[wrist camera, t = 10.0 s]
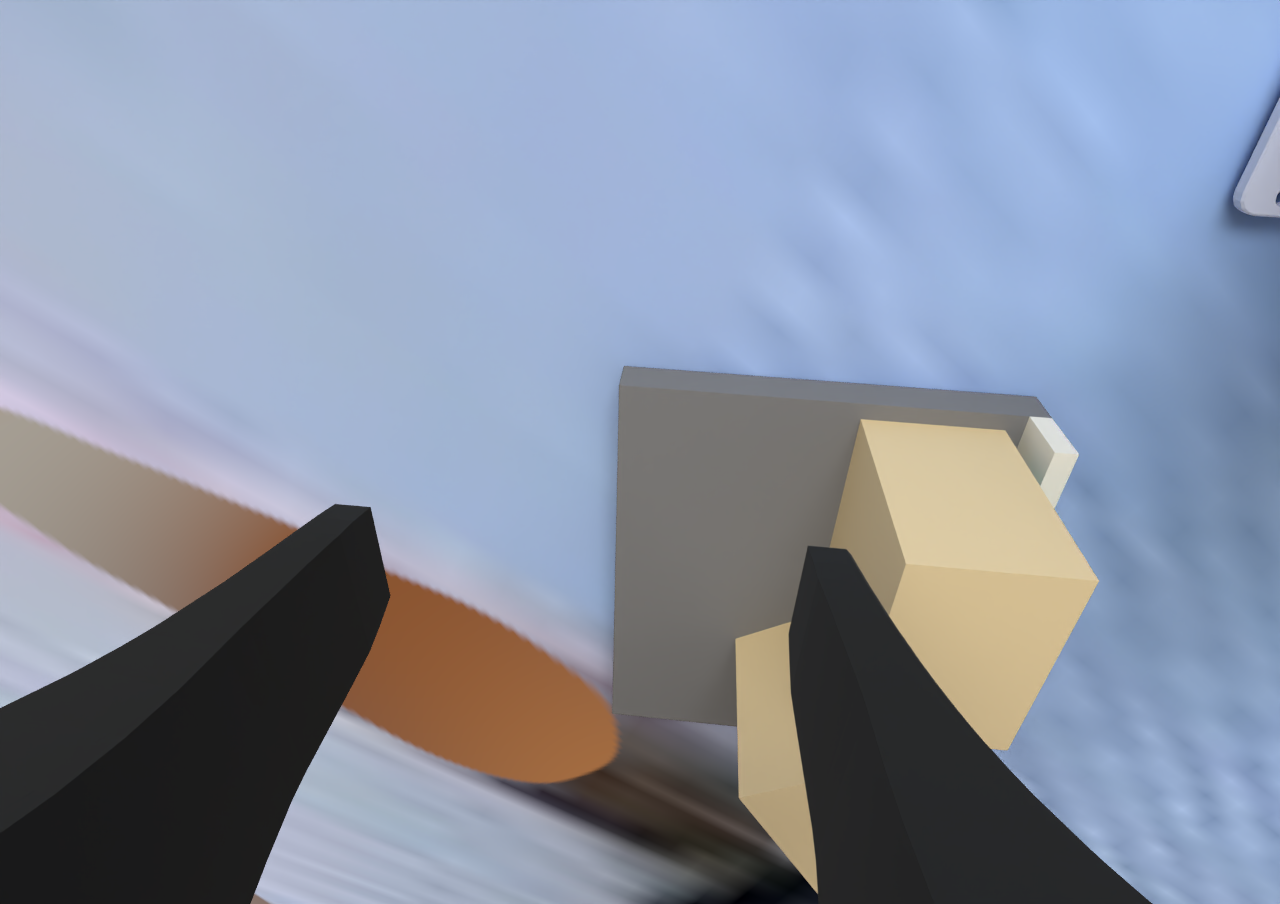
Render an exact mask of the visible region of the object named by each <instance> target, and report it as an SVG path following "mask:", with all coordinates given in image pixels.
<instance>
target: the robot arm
mask: <svg viewBox="0 0 1280 904" xmlns="http://www.w3.org/2000/svg"><path fill="white" fill-rule="evenodd" d="M1279 192H1280V98H1279V100H1278V102H1277V104H1276V106H1275V108H1274V110H1273V112H1272V115H1271V117H1270V119H1269V121H1268V123H1267V125H1266V127H1265V129H1264V131H1263V133H1262V135H1261V137H1260V139H1259V141H1258V144H1257V146H1256V148H1255V150H1254V152H1253V154H1252V156H1251V158H1250V160H1249V162H1248V164H1247V166H1246V168H1245V170H1244V172H1243V175H1242V177H1241V179H1240V181H1239V183H1238V185H1237V187H1236V189H1235V192H1234V196H1233V202H1234V206H1235V207H1236V208H1237V209H1238V210H1239V211H1241V212H1244V213H1246V214H1249V215H1252V216H1263V217H1280V202H1277V203H1276V202H1275V201H1276V197H1277V195H1278V193H1279ZM389 598H390V592H389V588H388V583H387V579H386V574H385V570H384V565H383V561H382V556H381V552H380V547H379V543H378V539H377V534H376V530H375V525H374V521H373V516H372V512H371V507H362V506H351V505H339V504H335V505H333V506H332V507H330V508H328V509H327V510H325V511H324V512H322V513H321V514H319V515H318V516H317V517H315V518H314V519H312V520H311V521H309V522H308V523H307V524H305V525H304V526H302V527H301V528H300V529H298V530H297V531H295V532H294V533H293V534H291V535H290V536H288V537H287V538H286V539H284V540H283V541H281V542H280V543H279V544H277V545H276V546H274V547H273V548H272V549H270V550H269V551H267V552H266V553H265V554H263V555H262V556H260V557H259V558H258V559H256V560H255V561H253V562H252V563H250V564H249V565H247V566H246V567H245V568H243V569H242V570H240V571H239V572H238V573H236V574H235V575H233V576H232V577H230V578H229V579H227V580H226V581H225V582H223V583H222V584H220V585H219V586H217V587H215V588H214V589H212V590H211V591H209V592H208V593H206V594H205V595H203V596H202V597H200V598H198V599H197V600H195V601H194V602H193V603H191V604H189V605H188V606H186V607H185V608H183V609H181V610H180V611H178V612H177V613H175V614H174V615H172V616H171V617H169V618H168V619H166V620H164V621H163V622H161V623H160V624H158V625H156V626H155V627H153V628H151V629H150V630H148V631H147V632H145V633H143V634H141V635H140V636H138V637H136V638H135V639H133V640H131V641H129V642H128V643H126V644H124V645H123V646H121V647H119V648H117V649H115V650H114V651H112V652H110V653H108V654H106V655H104V656H103V657H101V658H99V659H97V660H95V661H94V662H92V663H90V664H88V665H86V666H85V667H83V668H81V669H79V670H77V671H75V672H73V673H71V674H69V675H67V676H65V677H63V678H61V679H59V680H57V681H55V682H53V683H51V684H49V685H47V686H45V687H43V688H41V689H39V690H37V691H35V692H33V693H30V694H28V695H26V696H24V697H22V698H20V699H18V700H16V701H14V702H12V703H10V704H8V705H6V706H4V707H2V708H0V904H250V903H251V901H252V898H253V896H254V893H255V890H256V888H257V885H258V883H259V880H260V877H261V875H262V872H263V870H264V867H265V864H266V862H267V859H268V857H269V855H270V852H271V850H272V847H273V845H274V843H275V840H276V838H277V835H278V833H279V831H280V828H281V826H282V823H283V821H284V818H285V816H286V814H287V811H288V809H289V806H290V804H291V802H292V799H293V797H294V795H295V793H296V791H297V789H298V787H299V785H300V783H301V781H302V779H303V777H304V775H305V773H306V771H307V769H308V767H309V765H310V763H311V761H312V759H313V758H314V756H315V754H316V752H317V750H318V748H319V746H320V745H321V743H322V741H323V739H324V737H325V735H326V733H327V731H328V730H329V728H330V726H331V724H332V722H333V720H334V718H335V717H336V715H337V713H338V711H339V709H340V707H341V705H342V703H343V702H344V700H345V698H346V696H347V694H348V692H349V690H350V688H351V687H352V685H353V682H354V681H355V679H356V677H357V675H358V673H359V671H360V669H361V667H362V666H363V664H364V662H365V660H366V658H367V656H368V654H369V652H370V650H371V647H372V644H373V642H374V639H375V637H376V634H377V631H378V629H379V627H380V624H381V621H382V618H383V615H384V612H385V610H386V607H387V604H388V601H389ZM788 635H789V665H790V687H791V697H792V704H793V711H794V717H795V724H796V730H797V737H798V743H799V750H800V756H801V762H802V768H803V775H804V781H805V787H806V794H807V800H808V806H809V812H810V819H811V825H812V832H813V841H814V849H815V858H816V872H817V887H818V902H819V904H1152V903H1151V902H1149V901H1148V900H1147V899H1146V898H1145V897H1144V896H1143V895H1141V894H1140V893H1139V892H1138V891H1137V890H1136V889H1134V888H1133V887H1132V886H1131V885H1130V884H1129V883H1128V882H1126V881H1125V880H1124V879H1123V878H1122V877H1121V876H1119V875H1118V874H1117V873H1116V872H1115V871H1114V870H1113V869H1111V868H1110V867H1109V866H1108V865H1107V864H1106V863H1105V862H1104V861H1102V860H1101V859H1100V858H1099V857H1098V856H1097V855H1096V854H1095V853H1094V852H1093V851H1091V850H1090V849H1089V848H1088V847H1087V846H1086V845H1085V844H1084V843H1083V842H1082V841H1081V840H1080V839H1079V838H1078V837H1077V836H1076V835H1075V834H1074V833H1073V832H1072V831H1071V830H1070V829H1068V828H1067V827H1066V826H1065V825H1064V824H1063V823H1062V822H1061V821H1060V820H1059V819H1058V818H1057V817H1056V816H1055V815H1054V814H1053V813H1052V812H1051V811H1050V810H1049V809H1048V808H1047V807H1046V806H1045V805H1043V804H1042V803H1041V802H1040V801H1039V800H1038V799H1037V798H1036V797H1035V796H1034V795H1033V794H1032V793H1031V792H1030V791H1029V790H1028V789H1027V788H1026V786H1025V785H1024V784H1023V783H1022V782H1021V781H1020V780H1019V779H1018V778H1017V777H1016V776H1015V775H1014V774H1013V773H1012V772H1011V771H1010V770H1009V769H1008V768H1007V766H1006V765H1005V764H1004V763H1003V762H1002V761H1001V760H1000V759H999V758H998V756H997V755H996V754H995V753H994V752H993V751H992V750H991V749H990V748H989V746H988V745H987V744H986V743H985V742H984V741H983V740H982V739H981V737H980V736H979V735H978V734H977V733H976V731H975V730H974V729H973V728H972V727H971V726H970V724H969V723H968V722H967V721H966V720H965V718H964V717H963V716H962V715H961V713H960V712H959V711H958V710H957V709H956V707H955V706H954V705H953V704H952V702H951V701H950V700H949V698H948V697H947V696H946V695H945V693H944V692H943V691H942V689H941V688H940V687H939V686H938V684H937V683H936V682H935V680H934V679H933V678H932V676H931V675H930V674H929V672H928V671H927V670H926V668H925V667H924V666H923V664H922V663H921V662H920V660H919V659H918V657H917V656H916V654H915V653H914V652H913V650H912V649H911V647H910V646H909V644H908V643H907V642H906V640H905V639H904V637H903V636H902V634H901V633H900V632H899V630H898V629H897V627H896V626H895V624H894V623H893V621H892V620H891V618H890V617H889V615H888V614H887V612H886V610H885V609H884V607H883V606H882V604H881V603H880V601H879V600H878V598H877V596H876V595H875V593H874V592H873V590H872V588H871V587H870V585H869V583H868V582H867V580H866V579H865V577H864V575H863V574H862V572H861V570H860V568H859V567H858V565H857V563H856V562H855V560H854V558H853V557H852V555H851V554H850V553H849V552H848V550H847V549H840V548H829V547H817V546H808V547H807V552H806V556H805V561H804V565H803V570H802V575H801V579H800V584H799V588H798V593H797V597H796V602H795V606H794V611H793V616H792V620H791V625H790V629H789V634H788Z"/></svg>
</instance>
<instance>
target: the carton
mask: <svg viewBox="0 0 1280 904" xmlns="http://www.w3.org/2000/svg"><path fill="white" fill-rule="evenodd" d="M790 625H791V622H788V623H785V624H782V625H778V626H775V627H772V628H769V629H766V630H762V631H759V632H756V633H753V634H749V635H746V636H743V637H740V638H736V639H735V644H736V689H737V735H738V781H739V799H740V800H741V801H742V802H743V804H744V805H745V806H746V807H747V809H748V810H749V811H750V812H751V813H752V815H753V816H754V817H755V818H756V819H757V821H758V822H759V823H760V824H761V826H762V827H763V828H764V829H765V830H766V832H767V833H768V834H769V835H770V836H771V838H772V839H773V840H774V841H775V843H776V844H777V845H778V846H779V847H780V849H781V850H782V851H783V852H784V853H785V855H786V856H787V857H788V858H789V860H790V861H791V862H792V863H793V864H794V866H795V867H796V868H797V869H798V870H799V872H800V873H801V874H802V875H803V877H804V878H805V879H806V880H807V881H808V883H809V884H810V885H811V886H812V887H813V889H814V890H815V891H816V892H817V894H818V887H817V872H816V858H815V849H814V841H813V832H812V825H811V819H810V812H809V806H808V800H807V794H806V787H805V781H804V775H803V768H802V762H801V756H800V750H799V743H798V737H797V730H796V724H795V717H794V711H793V704H792V697H791V687H790V665H789V635H788V634H789V629H790Z"/></svg>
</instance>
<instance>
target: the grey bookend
mask: <svg viewBox="0 0 1280 904" xmlns="http://www.w3.org/2000/svg"><path fill="white" fill-rule="evenodd" d="M861 419H865V420H878V421H890V422H903V423H916V424H929V425H942V426H955V427H968V428H981V429H994V430H1005V431H1006V432H1007V434H1008V436H1009V437H1010V439H1011V440H1012V442H1013V444H1014V445H1015V447H1016V448H1017V450H1018V452H1019V453H1020V455H1021V456H1022V458H1023V460H1024V461H1025V463H1026V464H1027V466H1028V468H1029V469H1030V471H1031V472H1032V474H1033V476H1034V477H1035V479H1036V480H1037V482H1038V484H1039V485H1040V487H1041V489H1042V490H1043V492H1044V493H1045V495H1046V497H1047V498H1048V500H1049V501H1050V503H1051V505H1052V506H1053V508H1054V509H1055V506H1056V504H1057V502H1058V500H1059V498H1060V495H1061V493H1062V491H1063V489H1064V487H1065V484H1066V482H1067V480H1068V478H1069V476H1070V474H1071V471H1072V469H1073V467H1074V465H1075V463H1076V460H1077V458H1078V456H1079V454H1078V452H1077V451H1076V450H1075V448H1074V447H1073V446H1072V444H1071V443H1070V442H1069V440H1068V439H1067V438H1066V436H1065V435H1064V434H1063V432H1062V431H1061V430H1060V428H1059V427H1058V426H1057V424H1056V423H1055V421H1054V420H1053V419H1052V417H1051V416H1050V415H1049V413H1048V412H1047V411H1046V409H1045V408H1044V407H1043V405H1042V404H1041V403H1040V401H1039V400H1038V399H1037V397H1032V396H1018V395H1005V394H991V393H978V392H964V391H951V390H938V389H924V388H911V387H897V386H884V385H870V384H857V383H844V382H830V381H817V380H803V379H790V378H776V377H763V376H750V375H736V374H723V373H709V372H696V371H682V370H669V369H656V368H642V367H629V366H624V368H623V372H622V376H621V380H620V384H619V421H618V468H617V516H616V564H615V611H614V659H613V706H612V714H621V715H631V716H640V717H650V718H660V719H670V720H679V721H689V722H699V723H708V724H718V725H728V726H737V689H736V644H735V639H736V638H740V637H743V636H746V635H749V634H753V633H756V632H759V631H762V630H766V629H769V628H772V627H775V626H778V625H782V624H785V623H788V622H791V620H792V616H793V611H794V606H795V602H796V597H797V593H798V588H799V584H800V579H801V575H802V570H803V565H804V561H805V556H806V552H807V547H808V546H817V547H829V548H830V544H831V540H832V536H833V531H834V527H835V523H836V519H837V515H838V511H839V507H840V503H841V498H842V494H843V490H844V486H845V482H846V478H847V474H848V470H849V465H850V461H851V457H852V453H853V449H854V445H855V441H856V437H857V432H858V428H859V424H860V420H861Z"/></svg>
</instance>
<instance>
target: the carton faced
mask: <svg viewBox="0 0 1280 904" xmlns="http://www.w3.org/2000/svg"><path fill="white" fill-rule="evenodd" d="M830 548H840V549H847V550H848V552H849V553H850V554H851V555H852V557H853V558H854V560H855V562H856V563H857V565H858V567H859V568H860V570H861V572H862V574H863V575H864V577H865V579H866V580H867V582H868V583H869V585H870V587H871V588H872V590H873V592H874V593H875V595H876V596H877V598H878V600H879V601H880V603H881V604H882V606H883V607H884V609H885V610H886V612H887V614H888V615H889V617H890V618H891V620H892V621H893V623H894V624H895V626H896V627H897V629H898V630H899V632H900V633H901V634H902V636H903V637H904V639H905V640H906V642H907V643H908V644H909V646H910V647H911V649H912V650H913V652H914V653H915V654H916V656H917V657H918V659H919V660H920V662H921V663H922V664H923V666H924V667H925V668H926V670H927V671H928V672H929V674H930V675H931V676H932V678H933V679H934V680H935V682H936V683H937V684H938V686H939V687H940V688H941V689H942V691H943V692H944V693H945V695H946V696H947V697H948V698H949V700H950V701H951V702H952V704H953V705H954V706H955V707H956V709H957V710H958V711H959V712H960V713H961V715H962V716H963V717H964V718H965V720H966V721H967V722H968V723H969V724H970V726H971V727H972V728H973V729H974V730H975V731H976V733H977V734H978V735H979V736H980V737H981V739H982V740H983V741H984V742H985V743H986V744H987V745H988V746H989V748H990V749H999V750H1008V748H1009V747H1010V745H1011V743H1012V741H1013V739H1014V737H1015V735H1016V734H1017V732H1018V730H1019V728H1020V726H1021V724H1022V722H1023V721H1024V719H1025V717H1026V715H1027V713H1028V711H1029V710H1030V708H1031V706H1032V704H1033V702H1034V700H1035V698H1036V697H1037V695H1038V693H1039V691H1040V689H1041V687H1042V685H1043V684H1044V682H1045V680H1046V678H1047V676H1048V674H1049V672H1050V671H1051V669H1052V667H1053V665H1054V663H1055V661H1056V660H1057V658H1058V656H1059V654H1060V652H1061V650H1062V648H1063V647H1064V645H1065V643H1066V641H1067V639H1068V637H1069V635H1070V634H1071V632H1072V630H1073V628H1074V626H1075V624H1076V623H1077V621H1078V619H1079V617H1080V615H1081V613H1082V611H1083V610H1084V608H1085V606H1086V604H1087V602H1088V600H1089V598H1090V597H1091V595H1092V593H1093V591H1094V589H1095V587H1096V586H1097V584H1098V582H1099V580H1098V579H1097V577H1096V575H1095V574H1094V572H1093V570H1092V569H1091V567H1090V566H1089V564H1088V562H1087V561H1086V559H1085V558H1084V556H1083V554H1082V553H1081V551H1080V550H1079V548H1078V546H1077V545H1076V543H1075V542H1074V540H1073V538H1072V537H1071V535H1070V534H1069V532H1068V530H1067V529H1066V527H1065V525H1064V524H1063V522H1062V521H1061V519H1060V517H1059V516H1058V514H1057V513H1056V511H1055V509H1054V508H1053V506H1052V505H1051V503H1050V501H1049V500H1048V498H1047V497H1046V495H1045V493H1044V492H1043V490H1042V489H1041V487H1040V485H1039V484H1038V482H1037V480H1036V479H1035V477H1034V476H1033V474H1032V472H1031V471H1030V469H1029V468H1028V466H1027V464H1026V463H1025V461H1024V460H1023V458H1022V456H1021V455H1020V453H1019V452H1018V450H1017V448H1016V447H1015V445H1014V444H1013V442H1012V440H1011V439H1010V437H1009V436H1008V434H1007V432H1006V431H1005V430H994V429H981V428H968V427H955V426H942V425H929V424H916V423H903V422H890V421H878V420H865V419H861V420H860V424H859V428H858V432H857V437H856V441H855V445H854V449H853V453H852V457H851V461H850V465H849V470H848V474H847V478H846V482H845V486H844V490H843V494H842V498H841V503H840V507H839V511H838V515H837V519H836V523H835V527H834V531H833V536H832V540H831V544H830Z"/></svg>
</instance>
